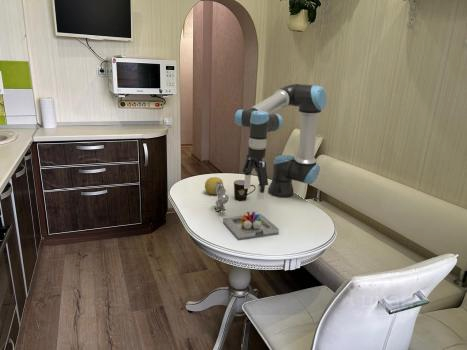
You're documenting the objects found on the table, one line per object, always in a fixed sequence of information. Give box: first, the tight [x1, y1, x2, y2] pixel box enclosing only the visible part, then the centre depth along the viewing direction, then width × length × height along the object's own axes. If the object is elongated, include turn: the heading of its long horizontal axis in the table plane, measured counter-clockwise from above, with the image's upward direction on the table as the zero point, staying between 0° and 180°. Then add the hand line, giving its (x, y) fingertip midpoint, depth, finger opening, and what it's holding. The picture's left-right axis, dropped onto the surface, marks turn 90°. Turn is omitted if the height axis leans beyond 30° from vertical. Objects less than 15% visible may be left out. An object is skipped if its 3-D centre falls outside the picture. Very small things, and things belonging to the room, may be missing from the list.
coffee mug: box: [233, 179, 256, 202], centre depth 196 cm, size 12×9×10 cm
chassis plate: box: [222, 213, 280, 241], centre depth 162 cm, size 20×18×2 cm
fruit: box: [204, 176, 224, 196], centre depth 202 cm, size 10×11×10 cm
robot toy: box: [215, 182, 229, 213], centre depth 177 cm, size 15×6×15 cm, turn 13°
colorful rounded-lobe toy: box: [241, 210, 262, 229], centre depth 162 cm, size 8×10×7 cm
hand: (253, 193), depth 158 cm, fingers open, 13 cm apart
